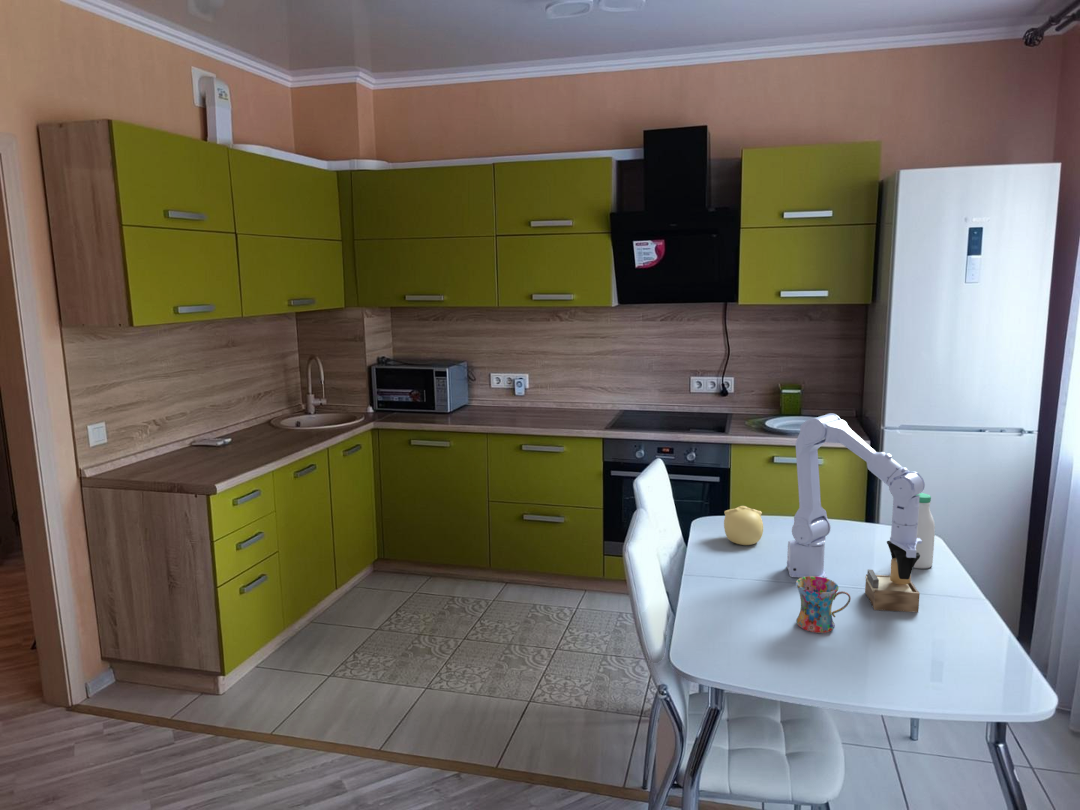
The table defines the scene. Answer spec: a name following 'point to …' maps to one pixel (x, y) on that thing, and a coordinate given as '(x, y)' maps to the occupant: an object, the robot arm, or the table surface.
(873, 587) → the lid
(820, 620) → the mug
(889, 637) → the table surface
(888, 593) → the wooden box
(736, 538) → the pale yellow round lump
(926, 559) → the milk bottle
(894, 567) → the roll-on deodorant
